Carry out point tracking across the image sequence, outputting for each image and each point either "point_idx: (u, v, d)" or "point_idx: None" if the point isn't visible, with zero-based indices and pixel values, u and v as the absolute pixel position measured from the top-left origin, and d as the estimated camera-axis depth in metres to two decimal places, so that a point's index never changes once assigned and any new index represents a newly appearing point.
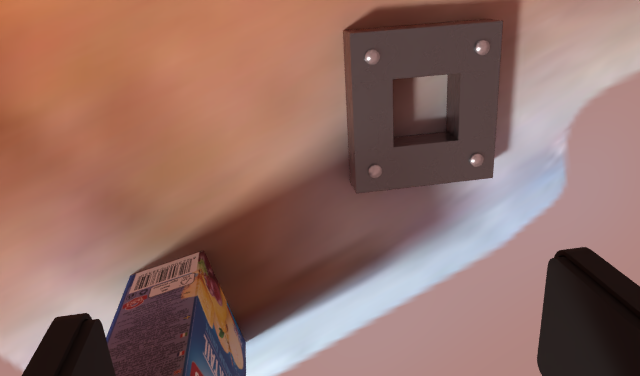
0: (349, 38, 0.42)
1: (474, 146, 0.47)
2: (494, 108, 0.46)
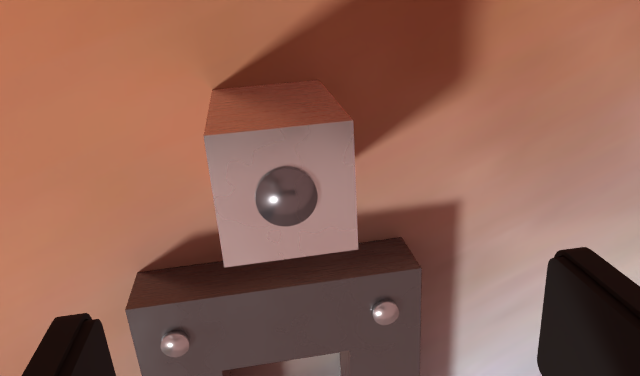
0: None
1: None
2: None
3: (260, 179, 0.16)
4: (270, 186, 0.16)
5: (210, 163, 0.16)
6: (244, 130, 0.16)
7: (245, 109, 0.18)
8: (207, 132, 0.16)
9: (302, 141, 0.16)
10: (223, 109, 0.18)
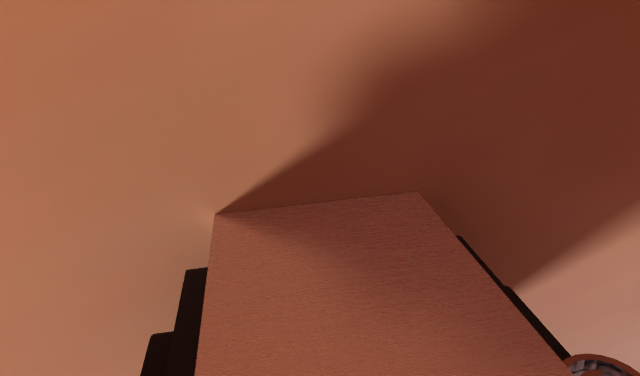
0: None
1: None
2: None
3: None
4: None
5: None
6: None
7: (290, 319, 0.08)
8: None
9: None
10: (237, 313, 0.08)
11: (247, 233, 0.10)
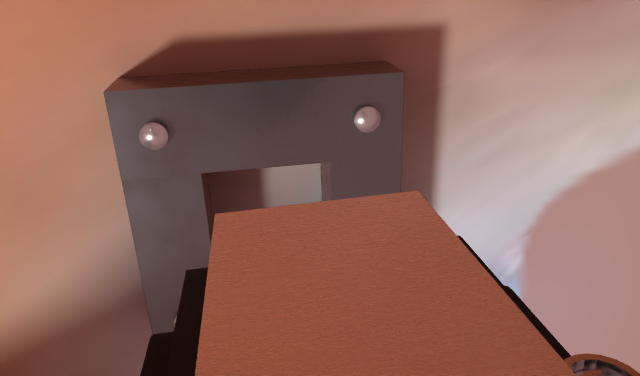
0: None
1: None
2: None
3: None
4: None
5: None
6: None
7: (290, 318, 0.08)
8: None
9: None
10: (238, 312, 0.08)
11: (247, 232, 0.10)
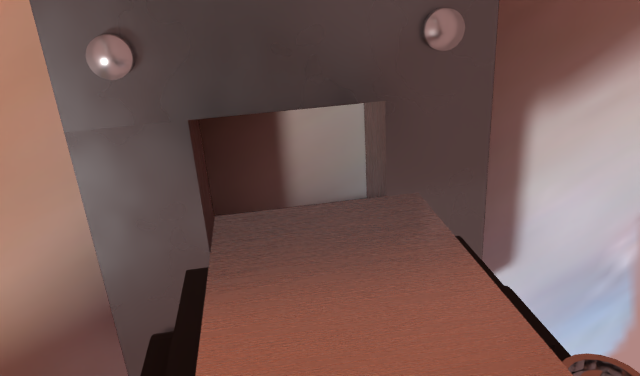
0: None
1: None
2: (478, 191, 0.18)
3: None
4: None
5: None
6: None
7: (291, 322, 0.08)
8: None
9: None
10: (238, 316, 0.08)
11: (247, 235, 0.10)
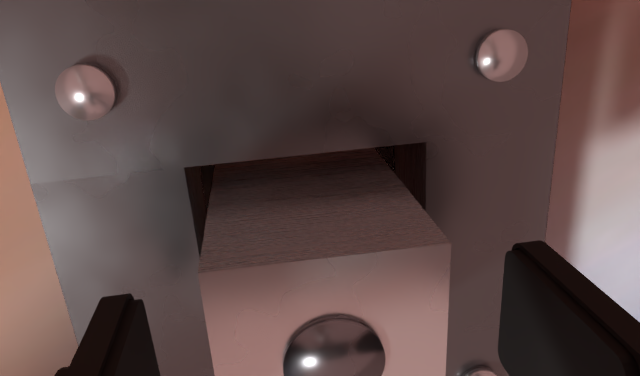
0: None
1: (472, 349, 0.16)
2: None
3: (292, 338, 0.10)
4: (309, 349, 0.10)
5: (208, 315, 0.09)
6: (268, 263, 0.09)
7: (266, 202, 0.12)
8: (204, 262, 0.09)
9: (365, 277, 0.09)
10: (232, 200, 0.12)
11: (240, 163, 0.14)
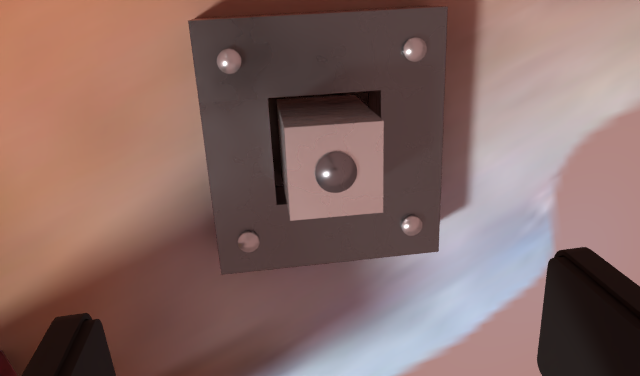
0: (190, 29, 0.25)
1: (407, 204, 0.30)
2: (437, 147, 0.29)
3: (319, 159, 0.24)
4: (326, 163, 0.24)
5: (287, 146, 0.24)
6: (311, 125, 0.23)
7: (306, 112, 0.26)
8: (285, 126, 0.24)
9: (349, 134, 0.24)
10: (290, 112, 0.26)
11: (290, 102, 0.29)
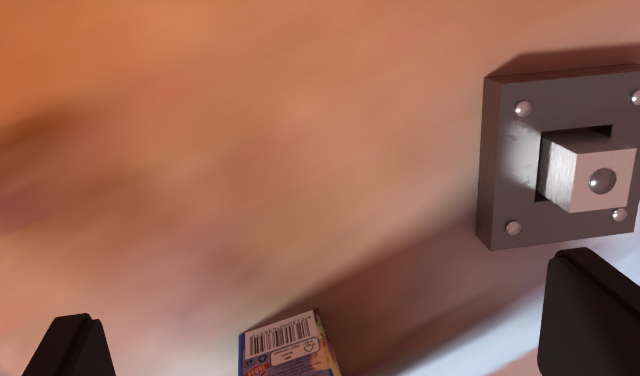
0: (499, 89, 0.38)
1: None
2: None
3: (594, 173, 0.37)
4: (598, 176, 0.37)
5: (576, 166, 0.37)
6: (592, 152, 0.37)
7: (570, 141, 0.39)
8: (575, 152, 0.37)
9: (614, 156, 0.37)
10: (558, 141, 0.40)
11: (542, 132, 0.42)
